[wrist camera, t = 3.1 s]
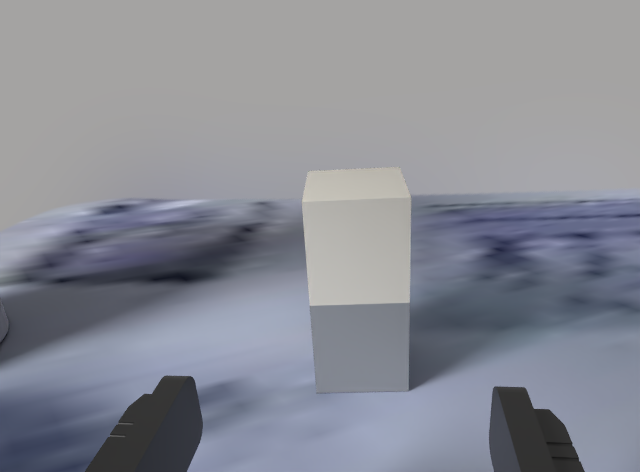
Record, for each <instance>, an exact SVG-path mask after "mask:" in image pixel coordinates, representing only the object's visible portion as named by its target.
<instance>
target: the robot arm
mask: <svg viewBox="0 0 640 472" xmlns="http://www.w3.org/2000/svg"><path fill="white" fill-rule="evenodd" d="M8 329H9V321H8V318H7V315H6V313H5V310H4V307H3V304H2V301H1V299H0V342H1V341H2V340H3V339H4V337H5V335H6V333H7V331H8ZM202 428H203V422H202V415H201V410H200V405H199V400H198V395H197V390H196V385H195V381H194V379H193V377H191V376H164V377H163V378H162V379H161V381H160V382H159V384H158V385H157V387H156V388H155V390H154V392H153V393H152V394H144V395H142V396H141V397H140V398H139V399H138V400H136V401H135V402H134V403H133V404H131V405H130V406H129V407H128V408H127V410H126V411H125V413H124V414H123V416H122V417H121V419H120V420H119V423H118V425H116V426H115V428H114V429H113V431H112V432H111V434H110V437H108V438H107V439H106V441H105V442H104V444H103V445H102V447H101V448H100V450H99V451H98V453H97V454H96V456H95V457H94V459H93V460H92V462H91V463H90V465H89V466H88V468H87V469H86V471H85V472H187V470H188V467H189V465H190V463H191V461H192V459H193V456H194V454H195V452H196V450H197V447H198V445H199V443H200V440H201V436H202ZM489 445H490V454H491V460H492V464H493V469H494V472H585V471H584V469H583V467H582V464H581V462H579V457H578V455H577V453H576V450H575V448H574V447H573V446H572V441H571V439H570V437H569V434H568V432H567V430H566V427H565V425H564V424H563V423H562V422H561V421H560V420H559V419H558V418H557V417H556V416H555V415H554V414H553V413H552V412H551V411H550V410H549V409H533V406H532V403H531V400H530V398H529V395H528V392H527V390H526V388H524V387H494V388H493V394H492V406H491V418H490V430H489Z"/></svg>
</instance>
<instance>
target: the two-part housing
mask: <svg viewBox="0 0 640 472" xmlns="http://www.w3.org/2000/svg"><path fill="white" fill-rule="evenodd" d="M302 212H303V225H304V238H305V250H306V263H307V276H308V289H309V302H310V315H311V328H312V341H313V353H314V366H315V379H316V392H317V393H350V392H398V391H409V326H410V251H411V195H410V193H409V190H408V188H407V185H406V182H405V180H404V177H403V175H402V172H401V169H400V167H389V168H367V169H345V170H324V171H308V175H307V180H306V184H305V189H304V194H303V198H302Z"/></svg>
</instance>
